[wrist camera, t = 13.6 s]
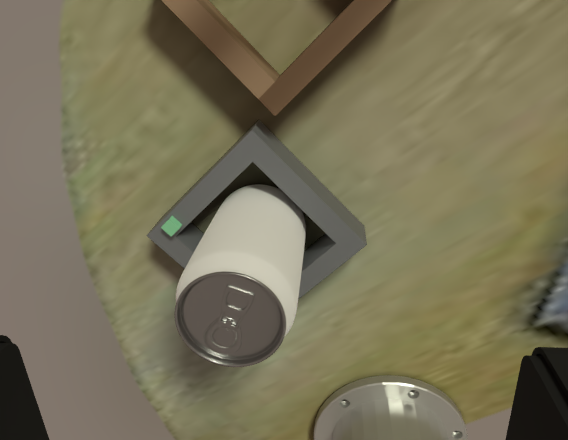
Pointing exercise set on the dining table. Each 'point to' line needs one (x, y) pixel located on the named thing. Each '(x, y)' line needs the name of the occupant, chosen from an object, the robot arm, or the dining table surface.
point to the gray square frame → (291, 180)
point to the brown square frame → (253, 67)
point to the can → (243, 278)
